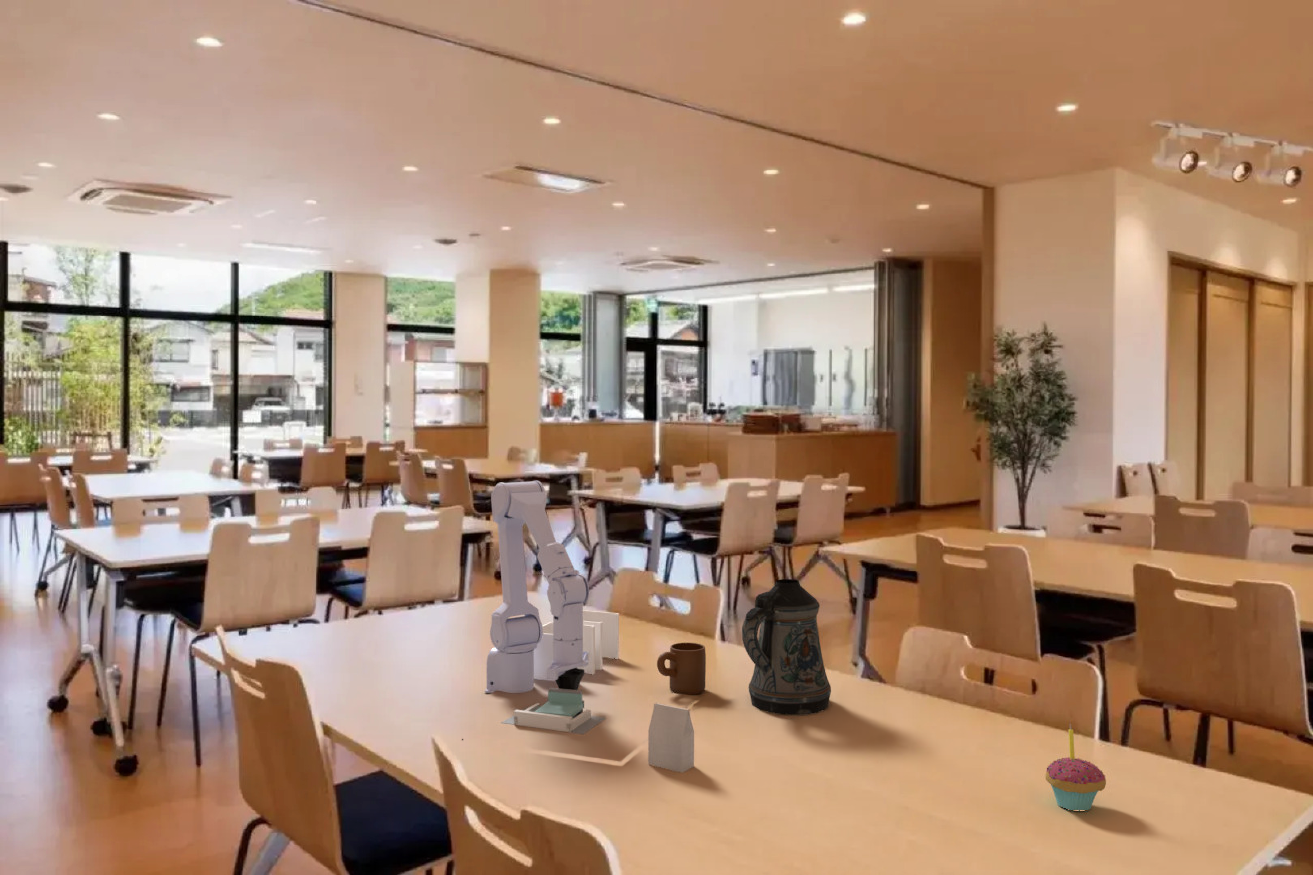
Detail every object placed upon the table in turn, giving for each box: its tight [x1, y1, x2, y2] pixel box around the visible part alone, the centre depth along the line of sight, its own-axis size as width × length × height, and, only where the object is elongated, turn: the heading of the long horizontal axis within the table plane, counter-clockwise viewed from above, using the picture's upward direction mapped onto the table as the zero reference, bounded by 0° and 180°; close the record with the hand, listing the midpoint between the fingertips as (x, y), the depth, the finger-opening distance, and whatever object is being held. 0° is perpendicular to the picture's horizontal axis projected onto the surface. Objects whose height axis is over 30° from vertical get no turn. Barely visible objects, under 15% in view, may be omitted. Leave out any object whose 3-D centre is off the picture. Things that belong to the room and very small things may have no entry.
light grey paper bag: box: [647, 702, 695, 773], centre depth 172 cm, size 4×7×10 cm, turn 57°
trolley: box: [534, 687, 585, 718], centre depth 194 cm, size 7×8×5 cm
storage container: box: [534, 609, 620, 682], centre depth 231 cm, size 25×11×11 cm, turn 160°
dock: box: [501, 702, 606, 735], centre depth 193 cm, size 17×10×3 cm, turn 69°
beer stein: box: [741, 578, 832, 716], centre depth 205 cm, size 16×19×25 cm
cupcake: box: [1045, 723, 1107, 811], centre depth 155 cm, size 9×8×12 cm
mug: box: [656, 642, 707, 696], centre depth 213 cm, size 12×8×9 cm, turn 130°
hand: (568, 707), depth 198 cm, fingers closed, pressing on trolley
